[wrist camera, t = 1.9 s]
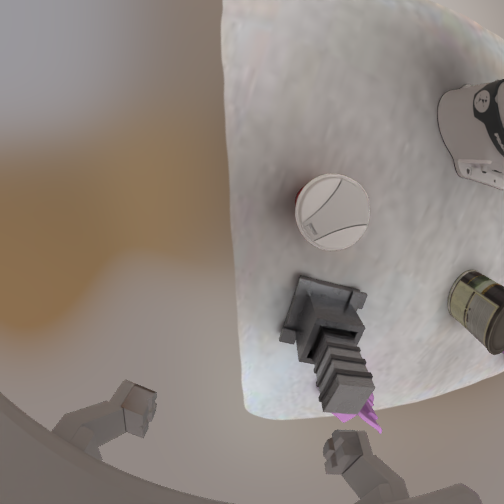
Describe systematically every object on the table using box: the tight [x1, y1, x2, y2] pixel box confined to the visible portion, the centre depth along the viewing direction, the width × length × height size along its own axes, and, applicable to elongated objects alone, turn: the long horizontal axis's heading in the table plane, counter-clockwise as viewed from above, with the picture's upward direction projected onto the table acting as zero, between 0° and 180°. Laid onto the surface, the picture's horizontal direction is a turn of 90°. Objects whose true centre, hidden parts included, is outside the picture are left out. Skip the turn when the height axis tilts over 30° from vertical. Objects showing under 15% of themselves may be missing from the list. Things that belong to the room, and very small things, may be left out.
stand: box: [279, 275, 367, 364], centre depth 37 cm, size 11×11×10 cm
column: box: [310, 325, 375, 414], centre depth 31 cm, size 4×4×18 cm
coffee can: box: [448, 270, 504, 355], centre depth 33 cm, size 10×10×14 cm
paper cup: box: [295, 174, 370, 251], centre depth 31 cm, size 8×8×14 cm
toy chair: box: [332, 393, 382, 434], centre depth 38 cm, size 8×9×15 cm
